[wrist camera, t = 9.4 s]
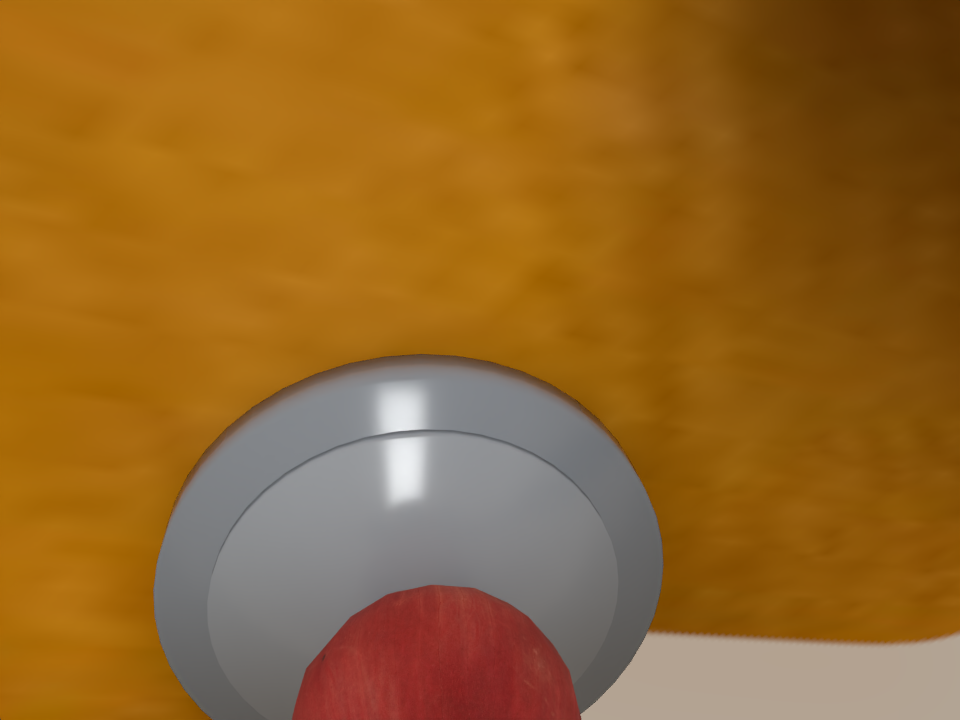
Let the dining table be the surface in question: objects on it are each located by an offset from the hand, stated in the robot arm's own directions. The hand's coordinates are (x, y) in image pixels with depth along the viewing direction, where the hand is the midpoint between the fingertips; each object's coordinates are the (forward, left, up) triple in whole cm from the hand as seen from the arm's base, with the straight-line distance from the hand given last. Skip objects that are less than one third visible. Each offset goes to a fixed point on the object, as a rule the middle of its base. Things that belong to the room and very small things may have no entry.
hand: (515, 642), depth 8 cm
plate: (+1, +9, -12) cm, 15 cm away
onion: (+1, +9, -11) cm, 14 cm away
